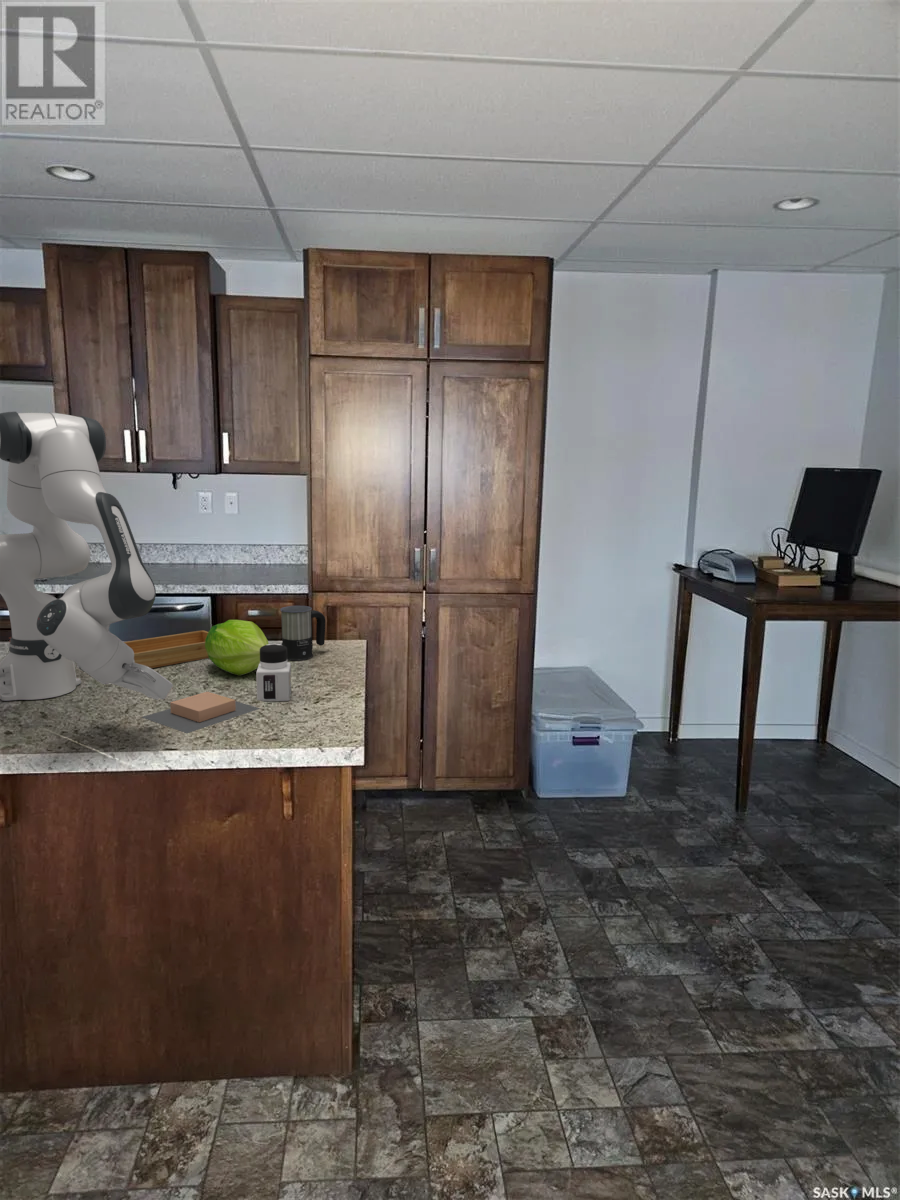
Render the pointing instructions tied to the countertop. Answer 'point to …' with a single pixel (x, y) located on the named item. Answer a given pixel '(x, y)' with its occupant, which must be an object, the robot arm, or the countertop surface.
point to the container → (273, 674)
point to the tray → (169, 649)
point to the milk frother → (301, 631)
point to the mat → (191, 725)
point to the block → (202, 706)
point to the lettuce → (235, 646)
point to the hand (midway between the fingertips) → (155, 695)
